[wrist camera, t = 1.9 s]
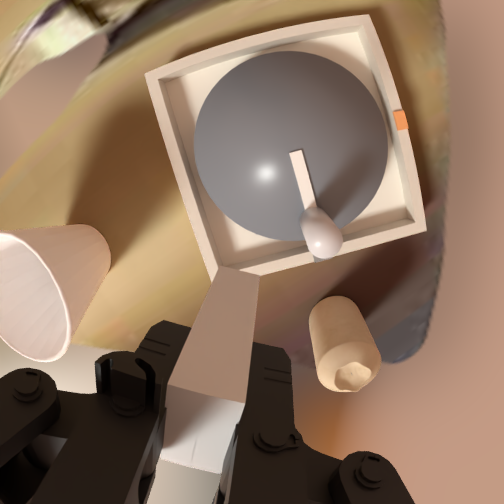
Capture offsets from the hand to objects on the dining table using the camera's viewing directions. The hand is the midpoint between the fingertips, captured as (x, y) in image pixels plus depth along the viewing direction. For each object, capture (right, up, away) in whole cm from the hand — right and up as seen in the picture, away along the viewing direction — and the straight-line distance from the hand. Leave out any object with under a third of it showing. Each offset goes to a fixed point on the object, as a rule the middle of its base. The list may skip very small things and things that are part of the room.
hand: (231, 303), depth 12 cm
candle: (+9, -5, +21) cm, 24 cm away
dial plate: (+4, +11, +16) cm, 20 cm away
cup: (-18, +2, +21) cm, 27 cm away
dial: (+4, +11, +15) cm, 19 cm away
